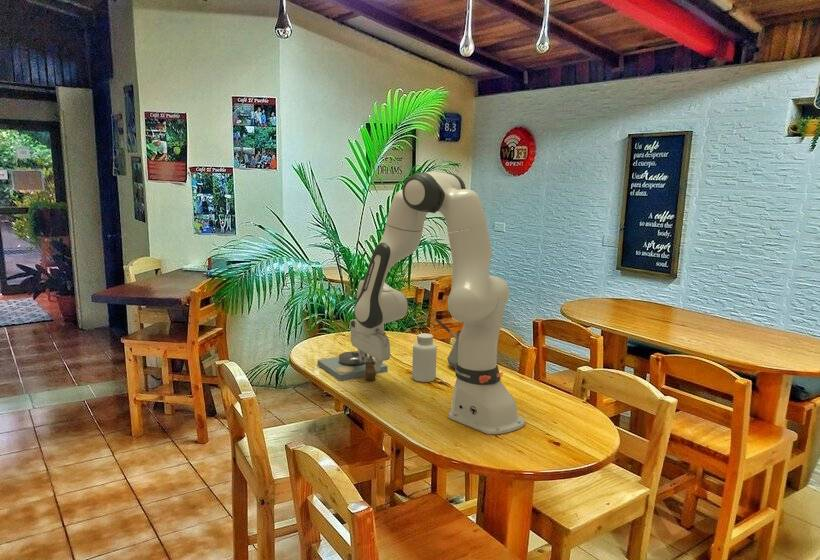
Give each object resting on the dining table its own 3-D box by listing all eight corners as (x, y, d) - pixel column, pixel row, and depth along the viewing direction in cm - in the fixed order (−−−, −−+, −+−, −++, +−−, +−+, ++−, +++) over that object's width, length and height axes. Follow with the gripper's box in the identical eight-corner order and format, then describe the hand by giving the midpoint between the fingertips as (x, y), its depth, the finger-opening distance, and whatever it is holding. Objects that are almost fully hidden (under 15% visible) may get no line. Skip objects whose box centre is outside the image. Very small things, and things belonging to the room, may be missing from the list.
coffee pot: (486, 368, 201) (488, 327, 199) (463, 375, 194) (464, 332, 191) (444, 353, 217) (445, 315, 215) (422, 359, 210) (423, 320, 208)
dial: (380, 361, 200) (380, 339, 199) (347, 367, 193) (347, 344, 191) (366, 353, 208) (366, 332, 207) (334, 359, 201) (333, 337, 200)
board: (387, 371, 196) (387, 364, 196) (340, 381, 186) (340, 374, 186) (362, 357, 211) (362, 351, 211) (317, 365, 201) (317, 358, 201)
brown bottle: (377, 380, 188) (377, 354, 186) (368, 382, 186) (368, 356, 184) (372, 377, 190) (372, 352, 189) (363, 379, 188) (363, 353, 187)
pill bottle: (426, 384, 185) (427, 340, 182) (407, 378, 190) (408, 335, 187) (440, 378, 191) (441, 334, 188) (421, 372, 196) (422, 330, 193)
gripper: (395, 332, 178) (394, 374, 181) (363, 317, 195) (363, 356, 197) (378, 334, 175) (377, 377, 177) (347, 319, 191) (347, 359, 194)
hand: (369, 366), depth 187 cm, fingers open, 8 cm apart
